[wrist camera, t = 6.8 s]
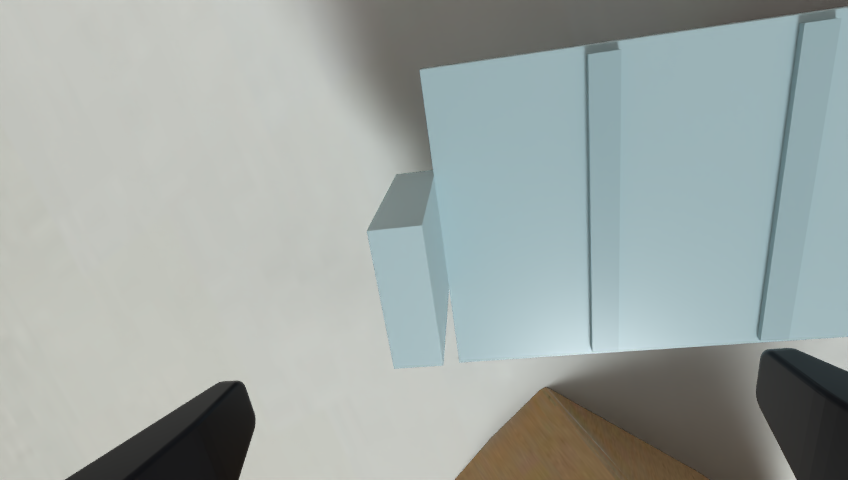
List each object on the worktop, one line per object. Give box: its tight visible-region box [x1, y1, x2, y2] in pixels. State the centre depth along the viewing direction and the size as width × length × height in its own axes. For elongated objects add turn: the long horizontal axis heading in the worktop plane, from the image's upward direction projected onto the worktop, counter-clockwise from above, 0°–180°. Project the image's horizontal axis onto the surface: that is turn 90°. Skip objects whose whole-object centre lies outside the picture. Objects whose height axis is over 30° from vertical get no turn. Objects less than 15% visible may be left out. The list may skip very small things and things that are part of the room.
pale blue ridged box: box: [367, 6, 848, 369], centre depth 12 cm, size 16×9×5 cm, turn 98°
